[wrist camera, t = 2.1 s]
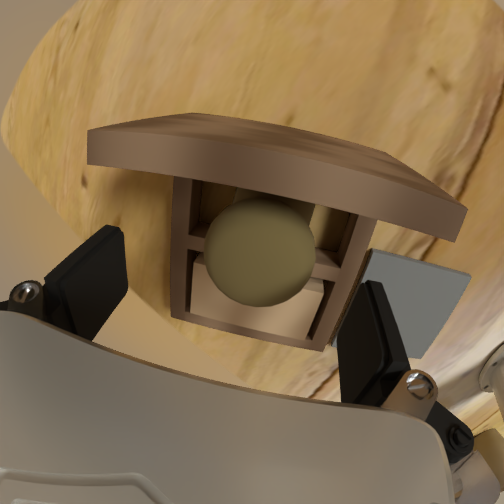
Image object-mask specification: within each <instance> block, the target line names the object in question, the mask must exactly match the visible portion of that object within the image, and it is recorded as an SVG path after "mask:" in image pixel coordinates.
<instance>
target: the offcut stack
mask: <svg viewBox="0 0 504 504" xmlns="http://www.w3.org/2000/svg"><path fill="white" fill-rule="evenodd" d="M203 257H204V252H200V253H199V255H198V256H197V258H196V260H195V261H194V265H193V278H192V293H191V309H190V313H193V314H196V315H200V316H203V317H207V318H211V319H215V320H218V321H222V322H226V323H230V324H234V325H238V326H242V327H246V328H250V329H254V330H258V331H263V332H267V333H271V334H276V335H280V336H285V337H289V338H294V339H299V340H305V338H306V336H307V333H308V331H309V329H310V326H311V324H312V322H313V319H314V317H315V314H316V312H317V309H318V307H319V304H320V302H321V299H322V297H323V294H324V288H323V279H320V278H316V277H310V279H309V280H308V282H307V283H306V285H305V286H304V287H303V289H302V290H301V291H300V292H299V293H298V294H296V295H295V296H293V297H292V298H291V299H289V300H288V301H286V302H283V303H280V304H277V305H274V306H271V307H252V306H247V305H242V304H240V303H238V302H236V301H234V300H232V299H230V298H228V297H227V296H226V295H225V294H223V293H222V292H221V291H220V290H219V289H218V288H217V287H216V285H215V284H214V282H213V281H212V279H211V278H210V276H209V275H208V272H207V269H206V266H205V262H204V259H203Z"/></svg>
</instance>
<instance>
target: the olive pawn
mask: <svg viewBox="0 0 504 504" xmlns="http://www.w3.org/2000/svg"><path fill="white" fill-rule="evenodd" d="M314 207H315V203H310V202H306V201H302V200H297V199H293V198H288V197H284V196H279V195H275V194H270V193H265V192H260V191H255V190H250V189H245V188H240V187H237V189H236V192H235V196H234V199H233V203H232V204H231V205H229V206H227V207H226V208H225V209H224V210H223V211H222V212H221V213H220V214H219V215H218V216H217V217H216V218H215V219H214V221H213V222H212V223H211V225H210V227H209V230H208V232H207V234H206V237H205V241H204V257H203V259H204V262H205V266H206V269H207V272H208V275H209V276H210V278H211V279H212V281H213V282H214V284H215V285H216V287H217V288H218V289H219V290H220V291H221V292H222V293H223V294H225V295H226V296H227V297H228V298H230V299H232V300H234V301H236V302H238V303H240V304H242V305H247V306H252V307H271V306H274V305H277V304H280V303H283V302H286V301H288V300H289V299H291V298H292V297H293V296H295V295H296V294H298V293H299V292H300V291H301V290H302V289H303V287H304V286H305V285H306V283H307V282H308V280H309V279H310V277H311V275H312V272H313V268H314V264H315V261H316V253H315V243H314V236H313V234H312V232H311V230H310V228H309V224H310V221H311V218H312V214H313V211H314Z"/></svg>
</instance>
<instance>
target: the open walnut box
mask: <svg viewBox="0 0 504 504" xmlns="http://www.w3.org/2000/svg"><path fill="white" fill-rule="evenodd" d="M87 164H88V165H97V166H106V167H114V168H122V169H130V170H138V171H145V172H152V173H159V174H165V175H172V176H174V184H173V201H172V222H171V258H170V302H171V317H173V318H177V319H180V320H184V321H187V322H191V323H194V324H198V325H202V326H206V327H209V328H213V329H217V330H221V331H225V332H229V333H233V334H238V335H242V336H246V337H250V338H255V339H259V340H264V341H269V342H273V343H278V344H283V345H288V346H293V347H298V348H304V349H309V350H315V351H320V352H323V350H324V348H325V346H326V344H327V342H328V340H329V338H330V336H331V334H332V332H333V329H334V327H335V325H336V323H337V321H338V318H339V316H340V314H341V312H342V309H343V307H344V305H345V303H346V300H347V298H348V296H349V293H350V291H351V288H352V286H353V284H354V281H355V279H356V276H357V274H358V271H359V269H360V266H361V263H362V261H363V258H364V256H365V253H366V250H367V248H368V245H369V242H370V239H371V237H372V234H373V231H374V228H375V225H376V222H377V220H381V221H384V222H388V223H392V224H395V225H399V226H402V227H405V228H409V229H412V230H416V231H419V232H422V233H425V234H429V235H432V236H435V237H438V238H441V239H444V240H448V241H451V242H454V243H455V241H456V238H457V236H458V233H459V231H460V228H461V226H462V223H463V221H464V218H465V216H466V213H467V210H468V209H467V208H466V207H465V206H464V205H462V204H461V203H460V202H458V201H457V200H456V199H454V198H453V197H452V196H450V195H449V194H448V193H446V192H445V191H444V190H442V189H441V188H439V187H438V186H437V185H435V184H434V183H432V182H431V181H429V180H428V179H426V178H425V177H424V176H422V175H421V174H419V173H418V172H416V171H414V170H413V169H411V168H410V167H408V166H407V165H405V164H404V163H402V162H400V161H399V160H397V159H396V158H394V157H392V156H391V155H389V154H387V153H385V152H382V151H379V150H376V149H373V148H369V147H366V146H363V145H359V144H356V143H352V142H349V141H345V140H341V139H337V138H334V137H330V136H326V135H322V134H318V133H313V132H309V131H305V130H300V129H295V128H291V127H286V126H281V125H275V124H270V123H265V122H259V121H253V120H247V119H240V118H233V117H226V116H218V115H210V114H201V113H186V114H177V115H169V116H161V117H154V118H148V119H141V120H135V121H130V122H124V123H119V124H114V125H109V126H104V127H100V128H95V129H91V130H88V133H87ZM203 181H208V182H214V183H219V184H225V185H230V186H235V187H240V188H245V189H250V190H255V191H260V192H265V193H270V194H275V195H279V196H284V197H288V198H293V199H297V200H302V201H306V202H310V203H315V204H319V205H323V206H327V207H331V208H335V209H339V210H343V211H347V212H350V215H349V219H348V222H347V225H346V228H345V232H344V235H343V238H342V241H341V244H340V247H339V250H338V253H337V252H332V251H328V250H324V249H319V248H315V253H316V261H315V264H314V268H313V272H312V275H311V277H316V278H320V279H325V280H328V282H327V284H326V287H325V290H324V294H323V297H322V299H321V302H320V304H319V307H318V309H317V312H316V314H315V317H314V319H313V322H312V324H311V326H310V329H309V331H308V333H307V336H306V338H305V340H299V339H294V338H289V337H285V336H280V335H276V334H271V333H267V332H263V331H258V330H254V329H250V328H246V327H242V326H238V325H234V324H230V323H226V322H222V321H218V320H215V319H211V318H207V317H203V316H200V315H196V314H193V313H190V309H191V293H192V278H193V265H194V261H195V260H196V251H199V252H204V241H205V237H206V234H207V232H208V230H209V227H210V224H205V223H201V222H199V213H200V202H201V192H202V182H203Z"/></svg>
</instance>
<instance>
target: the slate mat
mask: <svg viewBox="0 0 504 504" xmlns="http://www.w3.org/2000/svg"><path fill="white" fill-rule="evenodd" d="M471 278H472V277H471V276H470V275H469V274H467V273H464V272H460V271H456V270H453V269H449V268H446V267H442V266H438V265H435V264H431V263H427V262H423V261H420V260H416V259H412V258H408V257H404V256H401V255H397V254H393V253H389V252H385V251H381V250H377V249H373V248H372V250H371V252H370V255H369V258H368V260H367V263H366V265H365V268H364V270H363V273H362V275H361V278H360V280H359V282H358V285H357V287H356V290H355V292H354V294H353V297H352V299H351V301H350V303H349V306H348V308H347V310H346V312H345V315H344V317H343V319H342V321H341V323H340V325H339V328H338V330H337V332H336V334H335V336H334V338H333V340H332V342H331V346H332V347H336V348H337V342H336V340H337V334H338V332H339V330H340V328H341V326H342V323H343V321H344V319H345V317H346V315H347V313H348V311H349V308H350V306H351V304H352V302H353V300H354V297H355V295H356V293H357V290H358V288H359V286H360V284H361V283H362V282H363V283H365V282H366V281H367V280H372V281H377V282H381V283H382V284H383V287H384V290H385V292H386V295H387V298H388V300H389V303H390V306H391V309H392V312H393V315H394V317H395V320H396V323H397V326H398V329H399V332H400V335H401V338H402V341H403V344H404V347H405V351H406V354H407V357H408V358H417V359H421V358H422V357H423V355H424V354H425V352H426V351H427V350H428V348H429V347H430V345H431V344H432V343H433V341H434V340H435V338H436V337H437V335H438V334H439V332H440V331H441V329H442V328H443V326H444V324H445V323H446V321H447V320H448V318H449V316H450V315H451V313H452V312H453V310H454V308H455V307H456V305H457V303H458V301H459V300H460V298H461V296H462V294H463V293H464V291H465V289H466V287H467V285H468V283H469V282H470V280H471Z"/></svg>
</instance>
